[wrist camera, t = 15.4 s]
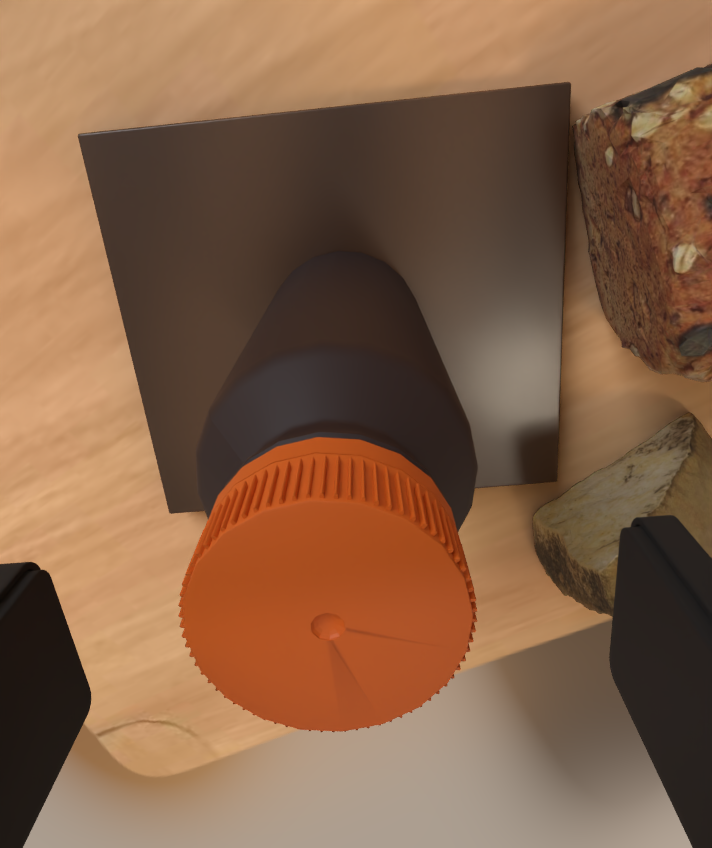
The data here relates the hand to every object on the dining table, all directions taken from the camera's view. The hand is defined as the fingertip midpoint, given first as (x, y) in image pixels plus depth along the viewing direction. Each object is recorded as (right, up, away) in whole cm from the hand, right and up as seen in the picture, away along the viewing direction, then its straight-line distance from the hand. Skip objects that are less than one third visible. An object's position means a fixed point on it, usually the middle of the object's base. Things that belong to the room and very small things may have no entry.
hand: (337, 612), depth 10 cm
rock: (+14, 0, +24) cm, 28 cm away
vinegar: (0, +8, +19) cm, 20 cm away
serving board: (0, +8, +20) cm, 21 cm away
